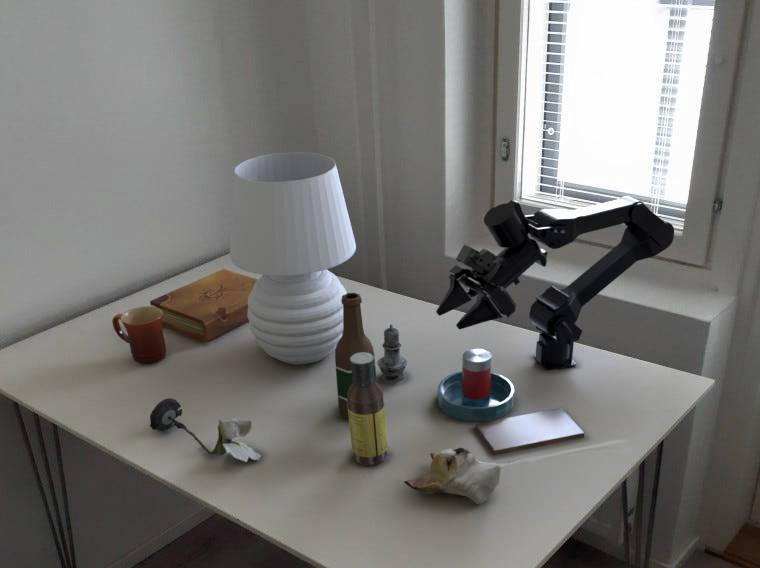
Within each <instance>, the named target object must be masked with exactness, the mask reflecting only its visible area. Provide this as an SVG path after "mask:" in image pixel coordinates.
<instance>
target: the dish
mask: <svg viewBox="0 0 760 568" xmlns="http://www.w3.org/2000/svg"><path fill="white" fill-rule="evenodd" d="M515 392H516V391H515V387H514V384H513V382H511V380H510V379H509V378H507V377H505V376H504V375H502V374H499V373H497V372H493V371H491V377H490V399H489V404H488V405H487V406H485V407H470V406H464V405H463V403H462V370H461V371H456V372H453V373H451V374H449V375H447V376H445V377H444V378H443V379H441V380H440V382H439V384H438V385H437V405H438V407H439V408H440V410H441V412H443V413H444V414H446V415H447V416H449V417H451V418H454V419H456V420H459V421H465V422H472V423H484V422H489V421H494V420H499V419H501V418H502V417H505V416H506V415H507V414H509V413H510V412H511V411H512V410H513V407H514V405H515Z"/></svg>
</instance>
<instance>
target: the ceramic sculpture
mask: <svg viewBox="0 0 760 568" xmlns="http://www.w3.org/2000/svg"><path fill="white" fill-rule="evenodd" d="M429 456H430V458H431V460H432V461H431V463H430V472H429V474H425V475H419V476H417V477H416V478H414V479H411V480H410V479H409V480H403V483H404V485H406V486H408V487H409V488H411V489H412V490H413V491H416V492H418V493H421V494H424V495H432V494H433V495H434V494H442V493H445V494H449V495H450V494H451V495H457V496H463V497H468V498H470V499H471V500H472V501H473V502H474V503H475V504H477V505H481V504H483V503H485V502H487V501H489V500H490V499H491V498H492V496H493V494H494V492H495V490H496V488H497V487H498V485H499V484H500V479H501V470H502V468H501V466H500V465H498V464H497V463H496V462H485V461H479V460H478V459H477V458H476V457H475V455H474V454H473V453H472V451H471V450H469V449H466V448H463V447H457V448H453V447H448V448H445V449H443V450H441V451H439V452H438V453H433V452H430V453H429Z"/></svg>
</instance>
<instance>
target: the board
mask: <svg viewBox="0 0 760 568" xmlns="http://www.w3.org/2000/svg"><path fill="white" fill-rule="evenodd" d="M474 429H475V431H476V432H477V433H478V436H480V437H481V439H482V440H483V441H484V443H485V444H486V446H487V447H488V449H489V450H490V452H491V453H492V454H493V456H498V455H503V454H504V455H505V454H508V453H513V452H517V451H523V450H528V449H533V448H538V447H542V446H547V445H553V444H557V443H562V442H567V441H573V440H577V439H582V438H585V431H584V430H582V428H581V427H580V426H579V425H578V423H576V422H575V420H573V418H572V417H571V416H570V415H569V414H568V413H567V412H566V411H565V409H563V407H556V408H551V409H547V410H546V409H545V410H541V411H540V410H539V411H536V412H531V413H525V414H520V415H515V416H511V417H504V418H498V419H495V420H490V421H484V422H477V423H475V424H474Z"/></svg>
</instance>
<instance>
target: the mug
mask: <svg viewBox="0 0 760 568" xmlns="http://www.w3.org/2000/svg"><path fill="white" fill-rule="evenodd" d="M162 317H163V311H162V310H161V309H159V308H157V307H155V306H152V305H149V306H148V305H147V306H138V307H134V308H130V309H128V310H126V311H124V313H118V314H115V315H114V316H113V317H112V326H113V329H114V331H115V333H116V334H117V336H118V337H119V338H120V339H121V340H122V341H124V342H125V343H127V344H128V345H129V350H130V353H131V357H132V358H133V360H134V361H135V362H136V363H137V364H141V365H153V364H157V363H159V362H161V361H162V360H164V358H165V357H166V356H167V343H166V340H165V334H164V331H163V326H162ZM119 320H120V321H121V323H122V325H123V328H125V330H126V332H127V334H126V333H125V332H124V331H123V329H122V327H121V325H120V321H119Z"/></svg>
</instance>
